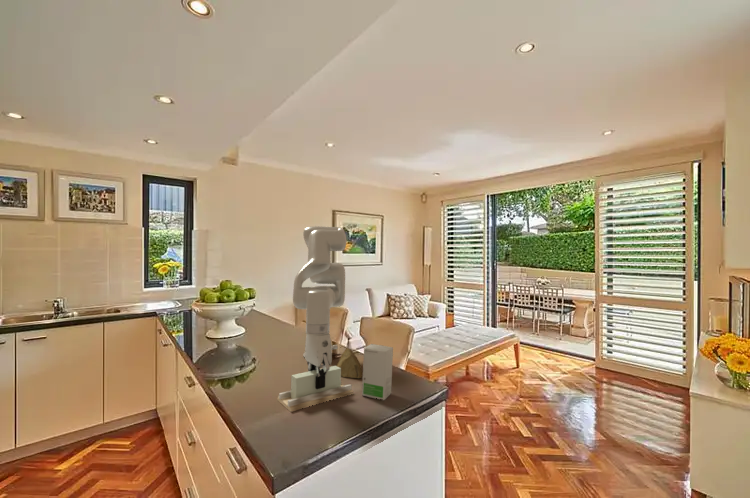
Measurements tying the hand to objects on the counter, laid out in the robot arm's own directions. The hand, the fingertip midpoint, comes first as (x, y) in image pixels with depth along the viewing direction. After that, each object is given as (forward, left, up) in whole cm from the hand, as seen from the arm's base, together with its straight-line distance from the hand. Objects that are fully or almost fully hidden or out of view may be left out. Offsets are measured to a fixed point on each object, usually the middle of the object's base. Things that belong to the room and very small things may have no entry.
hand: (316, 385), depth 109 cm
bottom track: (0, 0, -4) cm, 4 cm away
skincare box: (-17, +10, -4) cm, 20 cm away
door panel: (0, 0, -3) cm, 3 cm away
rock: (-19, -10, -4) cm, 22 cm away
